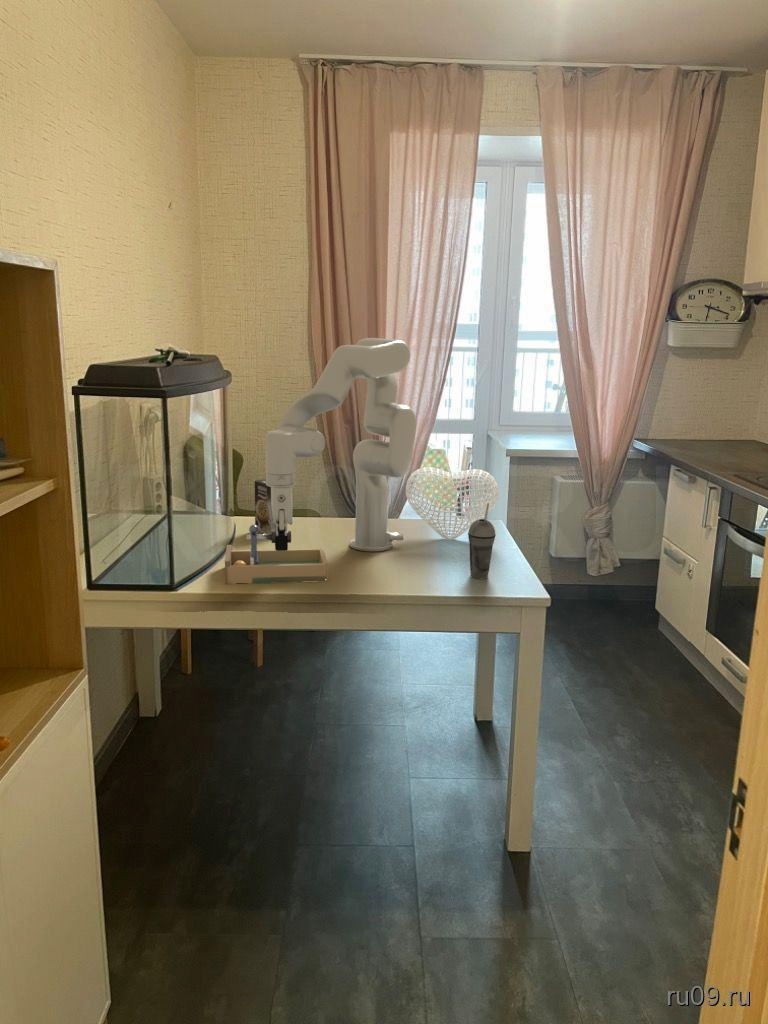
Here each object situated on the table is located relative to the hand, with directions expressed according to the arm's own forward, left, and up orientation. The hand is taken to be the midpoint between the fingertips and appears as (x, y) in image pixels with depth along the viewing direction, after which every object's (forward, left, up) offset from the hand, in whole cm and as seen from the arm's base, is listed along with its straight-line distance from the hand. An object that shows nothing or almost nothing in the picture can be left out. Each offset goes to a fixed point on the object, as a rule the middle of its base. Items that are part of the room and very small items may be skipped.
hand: (281, 547), depth 205 cm
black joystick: (+3, 0, -5) cm, 6 cm away
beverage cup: (-52, +6, -7) cm, 53 cm away
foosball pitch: (+1, 0, -7) cm, 7 cm away
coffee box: (+2, -39, -7) cm, 40 cm away
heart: (-52, -28, -7) cm, 60 cm away
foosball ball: (+11, 0, -5) cm, 12 cm away
